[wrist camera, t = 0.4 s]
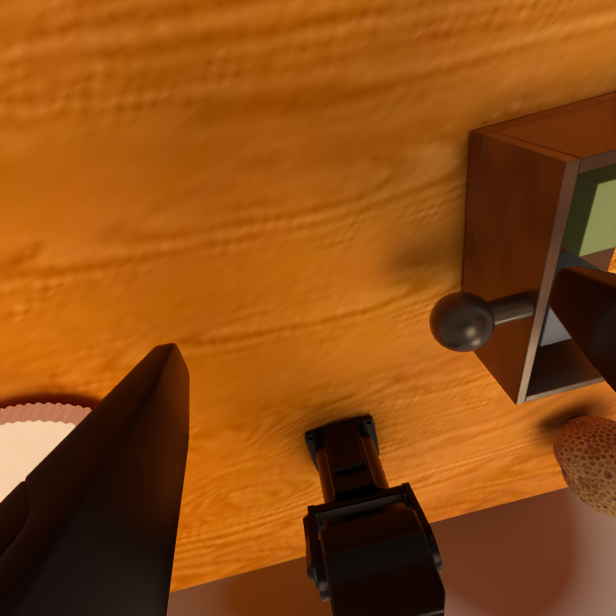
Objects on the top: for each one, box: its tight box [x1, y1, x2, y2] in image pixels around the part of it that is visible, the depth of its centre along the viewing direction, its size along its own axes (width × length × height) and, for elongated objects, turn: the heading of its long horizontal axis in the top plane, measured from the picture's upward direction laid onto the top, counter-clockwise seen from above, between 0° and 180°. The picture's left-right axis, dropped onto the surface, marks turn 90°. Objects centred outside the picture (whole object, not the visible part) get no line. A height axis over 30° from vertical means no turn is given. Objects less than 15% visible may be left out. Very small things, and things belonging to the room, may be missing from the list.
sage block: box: [561, 163, 616, 256], centre depth 20 cm, size 4×4×4 cm
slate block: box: [538, 250, 602, 346], centre depth 23 cm, size 4×4×4 cm
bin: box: [429, 92, 616, 405], centre depth 21 cm, size 15×15×8 cm
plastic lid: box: [0, 403, 92, 502], centre depth 29 cm, size 14×14×2 cm
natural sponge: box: [553, 416, 616, 517], centre depth 36 cm, size 9×9×10 cm
